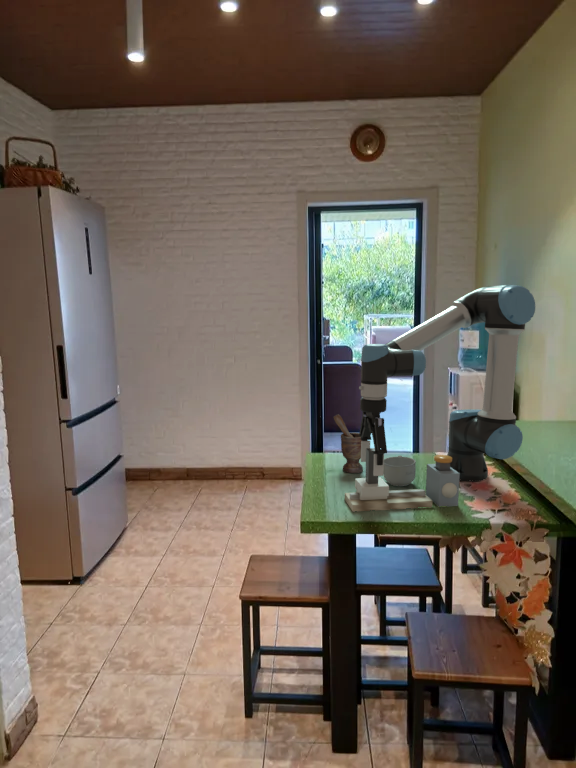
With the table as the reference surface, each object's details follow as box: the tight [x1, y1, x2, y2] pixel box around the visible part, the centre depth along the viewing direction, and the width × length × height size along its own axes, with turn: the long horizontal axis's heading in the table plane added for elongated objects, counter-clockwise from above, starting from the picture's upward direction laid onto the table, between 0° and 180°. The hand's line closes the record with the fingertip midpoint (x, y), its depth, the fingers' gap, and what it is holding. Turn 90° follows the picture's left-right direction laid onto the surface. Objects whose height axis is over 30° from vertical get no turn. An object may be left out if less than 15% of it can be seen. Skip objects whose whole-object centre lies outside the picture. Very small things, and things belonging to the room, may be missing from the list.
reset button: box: [433, 454, 452, 471], centre depth 160 cm, size 5×5×7 cm
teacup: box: [383, 454, 417, 487], centre depth 178 cm, size 14×11×8 cm
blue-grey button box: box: [425, 463, 460, 508], centre depth 160 cm, size 6×10×10 cm, turn 7°
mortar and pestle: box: [332, 413, 364, 474], centre depth 190 cm, size 12×9×20 cm
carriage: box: [354, 447, 390, 500], centre depth 157 cm, size 8×8×14 cm
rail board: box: [344, 488, 434, 513], centre depth 159 cm, size 24×10×4 cm, turn 97°
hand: (371, 468), depth 157 cm, fingers open, 13 cm apart
